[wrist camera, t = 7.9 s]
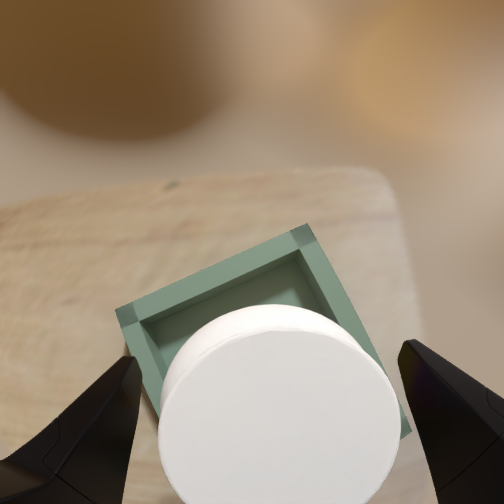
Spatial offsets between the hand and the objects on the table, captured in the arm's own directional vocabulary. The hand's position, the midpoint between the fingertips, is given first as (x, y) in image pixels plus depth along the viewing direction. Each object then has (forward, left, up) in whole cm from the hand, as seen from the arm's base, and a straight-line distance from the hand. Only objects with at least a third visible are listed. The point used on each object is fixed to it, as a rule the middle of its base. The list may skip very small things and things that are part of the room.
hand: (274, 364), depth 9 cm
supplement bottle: (-1, +1, -9) cm, 9 cm away
